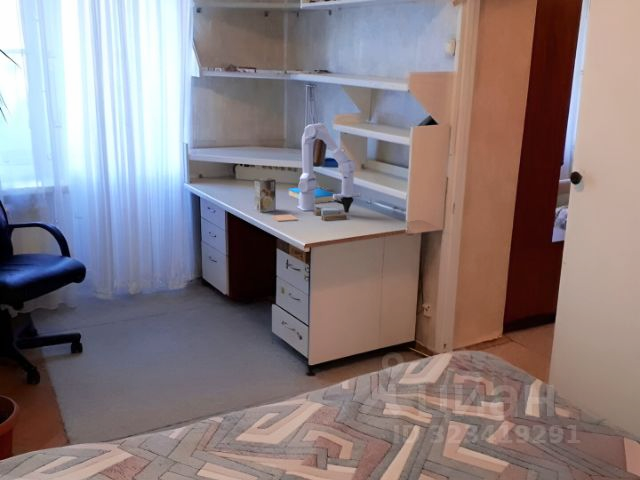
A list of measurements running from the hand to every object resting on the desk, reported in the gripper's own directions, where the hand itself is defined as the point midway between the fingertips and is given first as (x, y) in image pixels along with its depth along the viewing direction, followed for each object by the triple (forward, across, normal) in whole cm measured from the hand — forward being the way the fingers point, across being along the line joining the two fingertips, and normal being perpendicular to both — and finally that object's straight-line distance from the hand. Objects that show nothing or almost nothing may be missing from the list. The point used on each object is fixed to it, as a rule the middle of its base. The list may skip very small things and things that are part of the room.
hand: (346, 212), depth 333 cm
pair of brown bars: (+2, -9, 0) cm, 9 cm away
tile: (+2, -32, +2) cm, 32 cm away
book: (+2, -1, +43) cm, 43 cm away
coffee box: (+2, -36, +21) cm, 42 cm away
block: (+2, -9, 0) cm, 9 cm away
